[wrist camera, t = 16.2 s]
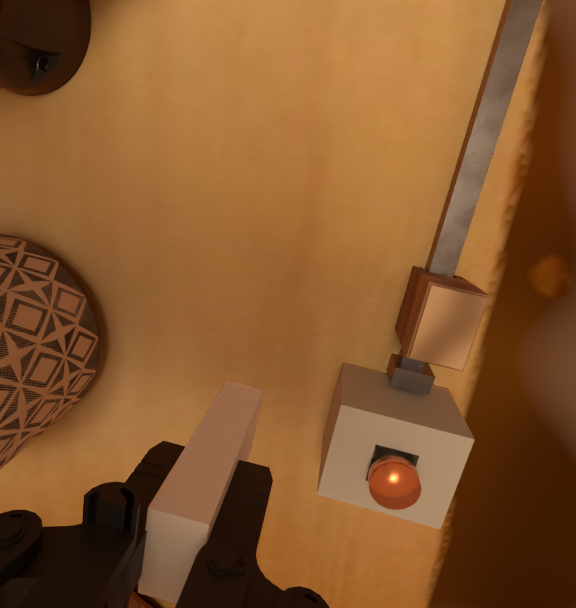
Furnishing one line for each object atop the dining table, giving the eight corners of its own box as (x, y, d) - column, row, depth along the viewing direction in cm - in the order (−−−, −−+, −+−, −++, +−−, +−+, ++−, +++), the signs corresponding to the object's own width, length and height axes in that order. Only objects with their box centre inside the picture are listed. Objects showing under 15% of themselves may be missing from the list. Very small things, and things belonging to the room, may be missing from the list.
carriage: (395, 328, 44) (406, 359, 35) (413, 266, 42) (430, 282, 33) (441, 339, 43) (464, 373, 35) (461, 276, 41) (491, 296, 33)
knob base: (323, 437, 49) (316, 494, 39) (342, 362, 46) (341, 404, 36) (421, 463, 48) (440, 529, 38) (447, 388, 45) (474, 439, 35)
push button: (361, 457, 42) (363, 501, 35) (372, 420, 40) (376, 459, 34) (403, 469, 41) (413, 515, 35) (415, 432, 40) (427, 473, 34)
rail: (387, 369, 45) (390, 384, 42) (514, -60, 34) (535, -92, 31) (422, 378, 45) (429, 394, 41) (562, -52, 34) (589, -85, 30)
